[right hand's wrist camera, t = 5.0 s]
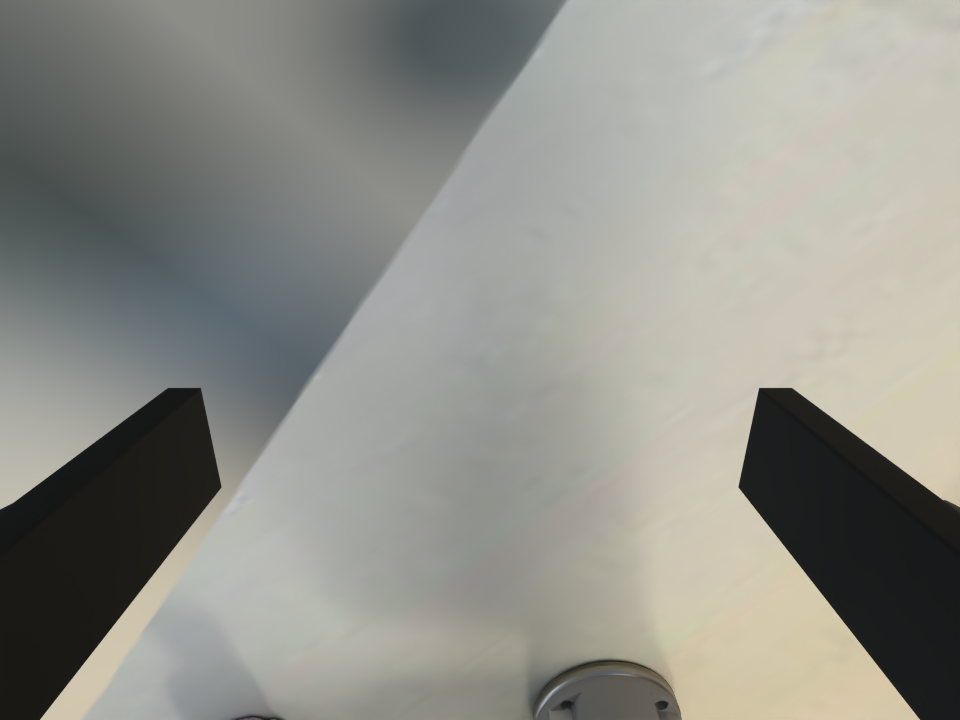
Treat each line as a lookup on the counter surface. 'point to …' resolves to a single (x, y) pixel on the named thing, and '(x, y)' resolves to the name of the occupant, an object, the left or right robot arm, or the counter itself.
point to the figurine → (253, 718)
